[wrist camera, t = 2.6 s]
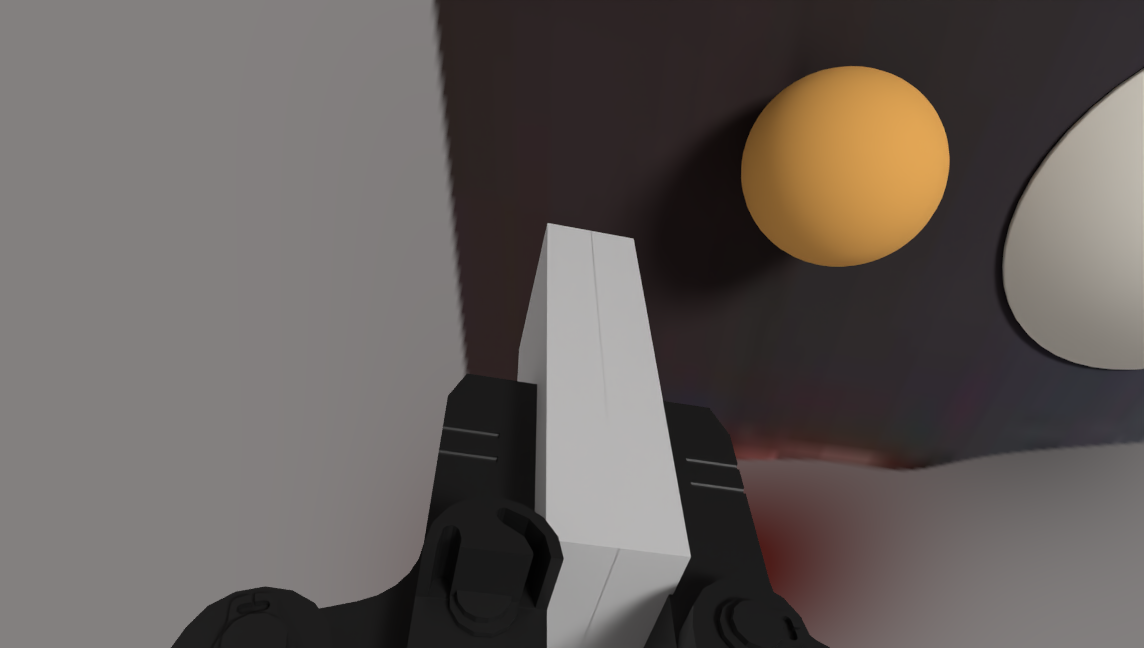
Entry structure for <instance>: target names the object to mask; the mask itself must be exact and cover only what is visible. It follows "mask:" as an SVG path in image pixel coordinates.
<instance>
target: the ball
mask: <svg viewBox="0 0 1144 648" xmlns="http://www.w3.org/2000/svg"><path fill="white" fill-rule="evenodd" d="M948 172H949V149H948V140H947V137H946V133H945V130H944V127H943V125H942V123H941V120H940V118H939V116H938V114H937V112H936V111H935V109H934V108H933V106H932V105H931V104H930V102H929V101H928V100H927V99H926V98H925V97H924V96H923V95H922V94H921V93H920V92H919V91H918V90H917V89H916V88H915V87H913V86H912V85H910V84H909V83H908V82H906V81H905V80H903V79H901V78H899V77H897V76H895V75H893V74H891V73H888V72H884V71H881V70H878V69H874V68H868V67H862V66H846V67H836V68H830V69H826V70H822V71H818V72H816V73H813V74H810V75H807V76H806V77H804V78H802V79H800V80H798V81H796V82H794V83H793V84H791V85H790V86H788V87H787V88H785V89H784V90H783V91H782V92H780V93H779V94H778V95H777V96H775V98H774V99H773V100H772V101H771V102H770V103H769V104H768V105H767V106H766V107H765V108H764V110H763V111H762V112H761V114H760V115H759V117H758V118H757V120H756V122H755V123H754V125H753V127H752V129H751V131H750V134H749V136H748V138H747V141H746V145H745V148H744V151H743V157H742V167H741V181H742V189H743V194H744V197H745V201H746V204H747V207H748V209H749V212H750V214H751V216H752V218H753V219H754V221H755V223H756V224H757V226H758V227H759V229H760V230H761V231H762V232H763V233H764V234H765V236H766V237H767V238H768V239H769V240H770V241H771V242H772V243H774V244H775V245H776V246H777V247H779V248H780V249H781V250H783V251H785V252H787V253H788V254H790V255H792V256H794V257H796V258H798V259H801V260H803V261H806V262H810V263H814V264H818V265H823V266H833V267H843V266H853V265H859V264H864V263H868V262H871V261H874V260H878V259H880V258H882V257H885V256H887V255H889V254H891V253H892V252H894V251H896V250H898V249H899V248H901V247H902V246H904V245H905V244H906V243H908V242H909V241H910V240H911V239H912V238H914V237H915V236H916V235H917V234H918V233H919V232H920V231H921V230H922V229H923V227H924V226H925V225H926V224H927V222H928V221H929V220H930V218H931V217H932V215H933V213H934V212H935V210H936V209H937V207H938V205H939V203H940V201H941V199H942V196H943V193H944V190H945V187H946V183H947V177H948Z"/></svg>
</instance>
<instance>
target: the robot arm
mask: <svg viewBox="0 0 1144 648" xmlns="http://www.w3.org/2000/svg"><path fill="white" fill-rule="evenodd" d="M743 489H744V486H743V483H742V479H741V475H740V472H739V470H738V469H737V460H736V457H735V453H734V449H733V446H732V442H731V438H730V435H729V434H728V432H727V431H726V430H725V428H724V427H723V426H722V424H721V423H720V422H719V420H718V419H717V418H716V416H715V415H714V414H713V412H712V411H711V410H710V408H705V407H699V406H692V405H685V404H679V403H672V402H666V401H663V399H662V394H661V388H660V383H659V377H658V372H657V366H656V361H655V355H654V350H653V344H652V338H651V333H650V327H649V322H648V316H647V311H646V305H645V300H644V294H643V289H642V283H641V277H640V272H639V266H638V261H637V255H636V250H635V244H634V239H632V238H627V237H621V236H616V235H610V234H605V233H599V232H594V231H588V230H583V229H577V228H572V227H566V226H561V225H555V224H550V223H547V228H546V232H545V237H544V241H543V246H542V250H541V255H540V259H539V263H538V268H537V272H536V277H535V281H534V286H533V290H532V295H531V299H530V304H529V308H528V313H527V317H526V321H525V326H524V330H523V335H522V339H521V344H520V348H519V363H518V381H512V380H506V379H499V378H493V377H486V376H479V375H473V374H466V375H465V377H464V378H463V379H462V380H461V381H460V382H459V384H458V385H457V386H456V387H455V388H454V390H453V391H452V392H451V393H450V394H449V395H448V400H447V406H446V411H445V418H444V424H443V430H442V436H441V442H440V448H439V454H438V460H437V466H436V473H435V479H434V485H433V491H432V497H431V503H430V509H429V515H428V521H427V527H426V534H425V540H424V545H423V548H422V551H421V554H420V557H419V559H418V561H417V562H416V564H415V565H414V567H413V568H412V570H411V571H410V573H409V574H408V575H407V576H406V577H404V578H403V579H402V580H401V581H400V582H399V583H398V584H397V585H395V586H394V587H392V588H390V589H388V590H386V591H385V592H383V593H381V594H379V595H377V596H374V597H370V598H367V599H364V600H360V601H357V602H351V603H346V604H341V605H336V606H331V607H326V608H320V609H319V608H318V607H317V606H316V604H315V603H314V602H312V601H310V600H308V599H307V598H305V597H303V596H301V595H299V594H298V593H296V592H294V591H292V590H285V589H278V588H271V587H260V588H254V589H249V590H243V591H238V592H235V593H232V594H230V595H228V596H227V597H225V598H223V599H221V600H219V601H217V602H215V603H213V604H211V605H209V606H207V607H206V608H205V609H204V610H203V611H202V612H201V613H200V614H199V615H198V616H197V617H196V618H195V619H194V620H193V621H192V622H191V623H190V624H189V625H188V626H187V627H186V628H185V629H184V631H183V632H182V633H181V635H180V636H179V638H178V639H177V640H176V642H175V643H174V645H173V646H172V647H171V648H829V647H828V646H826V645H824V644H822V643H820V642H818V641H817V640H815V639H814V638H813V637H811V636H810V635H809V633H808V631H807V629H806V627H805V625H804V623H803V621H802V618H801V617H800V616H799V614H798V613H797V612H796V611H795V610H794V609H793V608H792V607H791V606H790V605H789V604H788V603H787V601H786V600H785V599H784V598H782V597H781V596H779V595H777V594H776V593H774V592H773V589H772V587H771V584H770V582H769V578H768V574H767V571H766V567H765V563H764V559H763V556H762V552H761V549H760V545H759V541H758V538H757V534H756V530H755V526H754V523H753V519H752V515H751V512H750V508H749V505H748V501H747V497H746V494H744V493H743Z"/></svg>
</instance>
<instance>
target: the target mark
mask: <svg viewBox="0 0 1144 648" xmlns="http://www.w3.org/2000/svg"><path fill="white" fill-rule="evenodd" d="M1002 273H1003V286H1004V290H1005V294H1006V297H1007V301H1008V304H1009V306H1010V308H1011V310H1012V312H1013V314H1014V316H1015V318H1016V320H1017V321H1018V322H1019V324H1020V325H1021V326H1022V328H1023V329H1024V330H1025V331H1026V333H1027V334H1028V335H1029V336H1030V337H1031V338H1032V339H1034V340H1035V341H1036V342H1037V343H1038V344H1039V345H1040V346H1042V347H1043V348H1045V349H1046V350H1048V351H1050V352H1051V353H1053V354H1055V355H1056V356H1059V357H1061V358H1064V359H1066V360H1069V361H1071V362H1074V363H1078V364H1082V365H1086V366H1090V367H1096V368H1105V369H1121V370H1136V369H1144V68H1143V69H1141V70H1140V71H1139V72H1137V73H1136V74H1134V75H1133V76H1131V77H1130V78H1128V79H1127V80H1125V81H1124V82H1123V83H1121V84H1120V85H1118V86H1117V87H1116V88H1114V89H1113V90H1112V91H1111V92H1109V93H1108V94H1107V95H1106V96H1105V97H1103V98H1102V99H1101V100H1100V101H1099V102H1097V103H1096V104H1095V105H1094V106H1093V107H1091V108H1090V109H1089V110H1088V111H1087V112H1086V113H1085V114H1084V115H1083V116H1082V117H1081V118H1080V119H1079V120H1078V121H1077V122H1076V123H1075V124H1074V125H1073V126H1072V127H1071V128H1070V129H1069V130H1068V131H1067V132H1066V133H1065V134H1064V136H1063V137H1062V138H1061V139H1060V140H1059V141H1058V143H1057V144H1056V145H1055V146H1054V147H1053V149H1052V150H1051V151H1050V152H1049V153H1048V154H1047V156H1046V157H1045V159H1044V160H1043V162H1042V163H1041V165H1040V166H1039V168H1038V169H1037V170H1036V172H1035V173H1034V175H1033V176H1032V178H1031V179H1030V181H1029V183H1028V185H1027V187H1026V189H1025V191H1024V192H1023V194H1022V196H1021V198H1020V200H1019V202H1018V204H1017V207H1016V209H1015V212H1014V214H1013V217H1012V219H1011V222H1010V224H1009V228H1008V232H1007V236H1006V240H1005V244H1004V251H1003V262H1002Z"/></svg>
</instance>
